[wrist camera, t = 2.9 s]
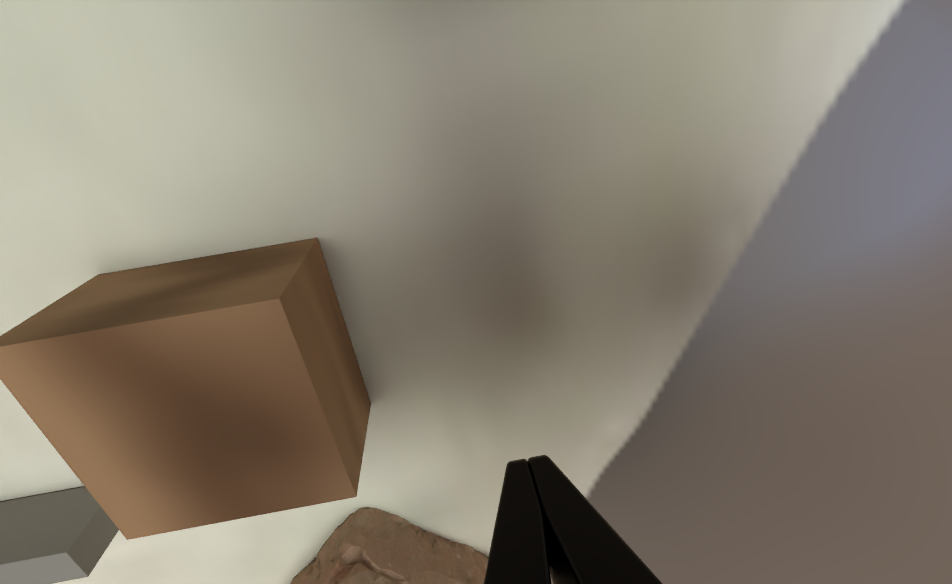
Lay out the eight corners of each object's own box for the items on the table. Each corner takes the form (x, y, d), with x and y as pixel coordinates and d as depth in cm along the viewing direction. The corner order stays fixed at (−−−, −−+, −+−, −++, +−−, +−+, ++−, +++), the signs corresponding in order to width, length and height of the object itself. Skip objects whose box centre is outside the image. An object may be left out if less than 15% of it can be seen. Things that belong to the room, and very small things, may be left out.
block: (318, 235, 15) (279, 298, 11) (371, 400, 18) (356, 496, 14) (102, 272, 14) (-23, 350, 10) (194, 432, 18) (127, 539, 14)
